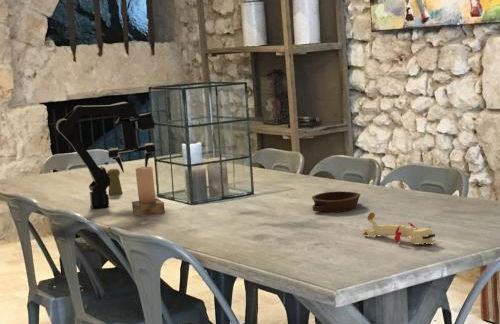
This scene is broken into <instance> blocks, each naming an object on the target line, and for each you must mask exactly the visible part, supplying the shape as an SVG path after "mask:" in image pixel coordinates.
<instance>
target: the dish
mask: <svg viewBox="0 0 500 324" xmlns="http://www.w3.org/2000/svg"><path fill="white" fill-rule="evenodd" d="M360 197H361V194H360V193H358V192H355V191H326V192H321V193H317V194H315V195H313V196H312V197H311V199H312V201H313V203H314V204H313V205H312V211H313V212H323V211H325V212H324V213H338V212H337V211H341V212H345V210H347V211H350V209H351V210H353V209H355V208H356V207H357V205H358V202H359V199H360Z"/></svg>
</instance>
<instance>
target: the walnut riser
mask: <svg viewBox="0 0 500 324" xmlns="http://www.w3.org/2000/svg"><path fill="white" fill-rule="evenodd" d="M131 205H132V206H131V207H132V213H133V214H135V215H136V216H137V217H145V216H151V215H157V214H158V215H159V214H165V212H166V210H165V202H164V201H163V200H161V199H159V198H156V202H153V203H148V204H140V203H139V200H135V201H131Z"/></svg>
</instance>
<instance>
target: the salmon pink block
mask: <svg viewBox="0 0 500 324" xmlns="http://www.w3.org/2000/svg"><path fill="white" fill-rule="evenodd" d="M153 170H154V169H153V167H152V166H147V167H145V166H144V167H142V166H141V167H138V168H135V174H136V175H135V176H136V177H135V178H136V184H137V196H138V201H139V203H140V204H148V203H153V202H156V189H155V179H154V178H155V177H154V171H153Z"/></svg>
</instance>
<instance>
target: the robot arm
mask: <svg viewBox="0 0 500 324" xmlns="http://www.w3.org/2000/svg"><path fill="white" fill-rule="evenodd" d="M107 115H109V116H110V115H111V116H117V117H118V118H117V119H116V121H115V124H116V125H120V128H121V133H122V134H121V135H122V137H119V145H120V147H123V148H121V149H119V148H118V147H114V148H113V147H112V148H109V149H108V152H107V154H108V158H110V159H112V160H115V161H116V162H117V165H118V166H119V167H120V170H121V171H122V173H125V172H124V169H125V168H124V167H123V163H122V159H121V156H120V155H122V154H123V155H124V154H128V153H136V152H142V151H143V152H144V167H148V163H149V159H150V156H151V155H153V152H156V147H155V146H156V145H155V143H154V142H148V143H144V145H143V146H139V140H138V136H137V134H138V133H137V130H139V131H140V132H143V131H144V132H145V131H149V130H155V128H156V127H155V125H156V124H155V120H154V117H153V114H152V112H146V113H142V114H139V113H138V112H136V110H135V107H134V106H133V104H132V103H130V102H126V101H121V102H116V103H113V104H109V105H108V104H106V105H104V104H103V105H76V106H74V107H73V109H72V110H71V111H70V112H69V113H67V114H66V115H65V116H63V118H60V119H58V120H57V121H56V124H55V128H56V131H58V133H59V134H60V135H62V137H64V139H65V140H67V141H68V142H69V144H70V145H71V147H72V148H73V149H74V151H75V152H76V154H77V155H78V156H79V158H80V160H81V161H82V162H83V164H84V165H85V166H86V167H87V169H88V171H89V174H90V177H91V179H92V182H91V183H90V184H89V185H88V188H89V200H90V205H89V206H90V208H91V209H93V210H96V209H102V208H109V207H110V200H109V199H110V198H109V193H108V194H107V189H108V188H109V185H110V181H111V180H110V178H109V176H110V175H109V174H108V171H107V169H106V168H105V167H104V166H102V165H101V166H99V165H98V164H97V163H96V161H95V160H94V159H93V157H92V155H91V154H90V153H89V151H88V150H87V149H86V147H85V145H84V144H83V143H82V142H81V140H80V139H79V137H78V135H77V132H76V130H75V125H76V124H77V123H78V121H79V120H80V118H82V116H107ZM121 117H123V118H121ZM130 118H132V119H130Z"/></svg>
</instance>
